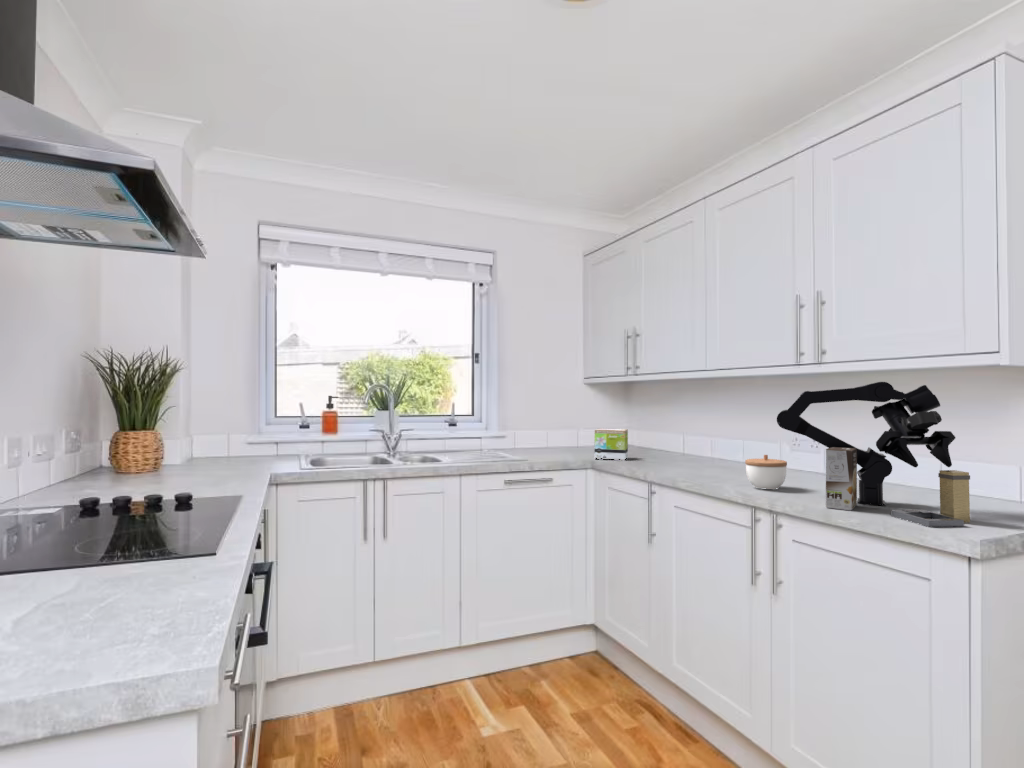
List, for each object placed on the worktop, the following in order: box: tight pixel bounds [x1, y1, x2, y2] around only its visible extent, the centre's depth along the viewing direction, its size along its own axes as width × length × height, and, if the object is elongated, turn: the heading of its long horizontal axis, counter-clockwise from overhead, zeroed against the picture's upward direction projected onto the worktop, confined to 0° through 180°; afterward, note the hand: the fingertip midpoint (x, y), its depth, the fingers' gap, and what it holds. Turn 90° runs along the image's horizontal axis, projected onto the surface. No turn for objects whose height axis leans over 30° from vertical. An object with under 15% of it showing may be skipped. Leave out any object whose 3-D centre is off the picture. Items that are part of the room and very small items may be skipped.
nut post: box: [937, 469, 971, 523], centre depth 136 cm, size 4×4×12 cm
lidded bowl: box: [744, 454, 788, 489], centre depth 185 cm, size 13×13×11 cm
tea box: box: [593, 428, 629, 460], centre depth 271 cm, size 15×10×15 cm, turn 72°
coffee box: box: [825, 447, 858, 511], centre depth 153 cm, size 9×6×16 cm
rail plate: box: [890, 509, 965, 528], centre depth 136 cm, size 12×8×2 cm
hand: (933, 466), depth 143 cm, fingers open, 9 cm apart
